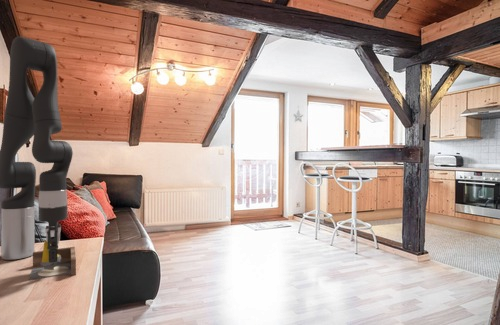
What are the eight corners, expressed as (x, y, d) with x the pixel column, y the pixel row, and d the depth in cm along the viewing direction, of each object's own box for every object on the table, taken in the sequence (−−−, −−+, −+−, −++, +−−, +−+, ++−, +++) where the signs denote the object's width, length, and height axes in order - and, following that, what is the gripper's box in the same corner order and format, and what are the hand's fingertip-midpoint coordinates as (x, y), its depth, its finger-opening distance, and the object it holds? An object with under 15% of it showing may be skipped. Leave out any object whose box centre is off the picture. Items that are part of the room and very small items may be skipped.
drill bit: (66, 267, 94) (57, 237, 92) (47, 276, 90) (37, 244, 88) (60, 264, 97) (51, 235, 96) (41, 272, 93) (32, 242, 92)
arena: (33, 267, 98) (33, 251, 98) (74, 261, 104) (74, 246, 104) (28, 283, 85) (28, 266, 85) (75, 275, 91) (75, 259, 91)
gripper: (40, 202, 97) (40, 254, 98) (36, 208, 85) (36, 268, 85) (67, 201, 101) (67, 251, 101) (67, 206, 89) (67, 263, 89)
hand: (53, 258), depth 93 cm, fingers closed on drill bit, 5 cm apart
